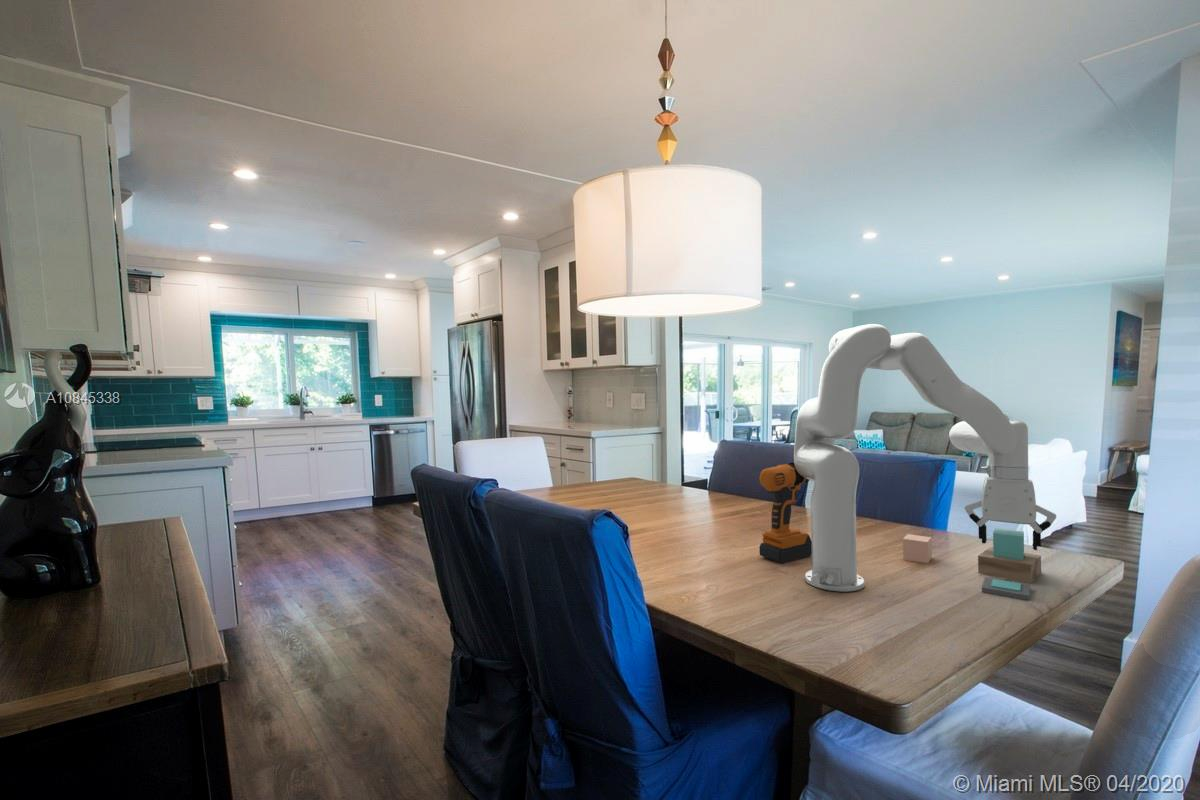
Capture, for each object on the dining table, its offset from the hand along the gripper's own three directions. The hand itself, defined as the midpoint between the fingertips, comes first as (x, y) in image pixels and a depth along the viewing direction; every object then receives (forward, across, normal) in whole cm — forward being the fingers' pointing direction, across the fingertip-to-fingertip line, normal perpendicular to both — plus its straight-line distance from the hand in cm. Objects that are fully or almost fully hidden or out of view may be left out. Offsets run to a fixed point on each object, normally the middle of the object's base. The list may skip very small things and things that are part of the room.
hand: (1009, 545), depth 129 cm
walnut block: (+7, 0, 0) cm, 7 cm away
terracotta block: (+7, -19, 0) cm, 20 cm away
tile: (+6, 0, -14) cm, 15 cm away
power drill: (+7, -46, -15) cm, 49 cm away
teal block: (+2, 0, 0) cm, 2 cm away
